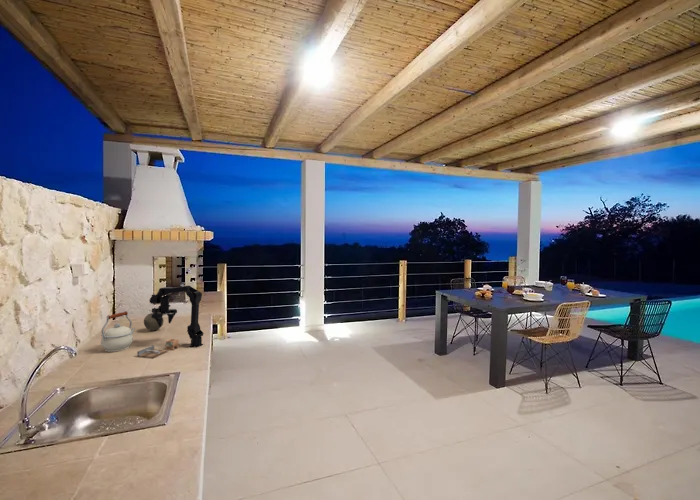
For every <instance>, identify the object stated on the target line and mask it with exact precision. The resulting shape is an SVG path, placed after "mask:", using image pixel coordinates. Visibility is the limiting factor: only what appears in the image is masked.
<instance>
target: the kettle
mask: <svg viewBox="0 0 700 500" xmlns="http://www.w3.org/2000/svg"><path fill="white" fill-rule="evenodd" d="M128 314H129V312H128V311H122V312H118V313H114V314H109V315H106V322H105V323H104V325H103V327H102V329H101V339H100V346H101V347H102V348H103V349H104V351H105V352H109V353H114V352H121V351H125V350H127V349H129V348H130V345H131V344H132V343H133V341H134V337H133V334H134V332H135V329H136V328H135V327H132V325H133V323H132V320H131V319H130V318H129V316H128ZM123 316H125V318H126V319H127V320H128V321H129V326H125V325H121V323H118V322H117V323H115V324H114V325H113V326H112V327H109V328H107V329H106V330H105V328H106V326H107V325H108V323H109V320H111V319H115V318H120V317H123Z"/></svg>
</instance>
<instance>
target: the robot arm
mask: <svg viewBox="0 0 700 500" xmlns="http://www.w3.org/2000/svg"><path fill="white" fill-rule="evenodd" d="M181 292H184V293H185V294H186V296H187V297H188V298H189V302H190V304H191V310H190V311H191V314H190V315H191V316H190V324H189V325H187V327H186V328H187V331H186V333H187V335H188V336H189V339H190V345H189V347H193V348H198V347H199V348H200V347H201V346H203V345H204V344H203V343H202V342H203V336H204V334H205V333H204V332H203V331H202V330H201V326H200V323H199V313H200V309H199V308H200V303H201V301H202V298H203V297H202V296H203V293H202V292H201V291H200V290H198V289H196V288H194V287H192V285H183V286H177V287H172V286H165V287H160V288H159V289H158V292H156V294H154V293H153V294H152V295H151V296H150V297H149V304H151V305H153V304H154V305H159V306H158V307H154V308H153V307H152V308H151V313H154V314H152V318H153V319H156V321H157V323H158V325H159V327H161V328H162V326H161V324H162V319H163V320H164V317H163V316H165V315H167V319H168V322H167V323H168V324H171V323H172V321H173V319H174V317H175V315H177V313H178V310H177V309H176V308H170V307H171V305H170V299H172V298H173V296H172V295H170V294H173V293H181ZM162 317H163V318H162Z"/></svg>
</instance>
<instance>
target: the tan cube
mask: <svg viewBox="0 0 700 500" xmlns="http://www.w3.org/2000/svg"><path fill="white" fill-rule="evenodd" d="M175 349H179V339H178V338H177V339H176V338H175V339H174V338H170V339H168V340H166V341H165V350H167V351H174V350H175Z"/></svg>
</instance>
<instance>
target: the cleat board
mask: <svg viewBox="0 0 700 500" xmlns="http://www.w3.org/2000/svg"><path fill="white" fill-rule="evenodd" d="M168 351H169V350H166V349H165V350H164V349H156V348H155V345H151V346H148V347H145V348H143V349H141V350H137V351H136V354H137V356H136V357H138V358H144V359H145V358H146V359H154V358H157V357H159V356H162V355H165V354H166V353H168Z"/></svg>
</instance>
